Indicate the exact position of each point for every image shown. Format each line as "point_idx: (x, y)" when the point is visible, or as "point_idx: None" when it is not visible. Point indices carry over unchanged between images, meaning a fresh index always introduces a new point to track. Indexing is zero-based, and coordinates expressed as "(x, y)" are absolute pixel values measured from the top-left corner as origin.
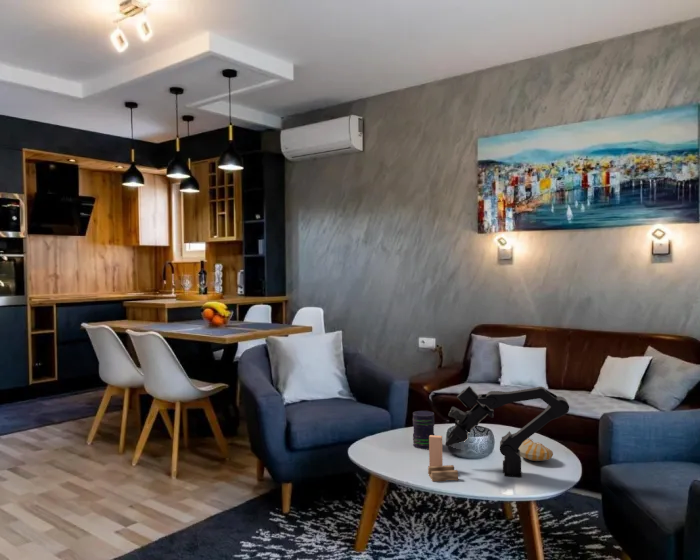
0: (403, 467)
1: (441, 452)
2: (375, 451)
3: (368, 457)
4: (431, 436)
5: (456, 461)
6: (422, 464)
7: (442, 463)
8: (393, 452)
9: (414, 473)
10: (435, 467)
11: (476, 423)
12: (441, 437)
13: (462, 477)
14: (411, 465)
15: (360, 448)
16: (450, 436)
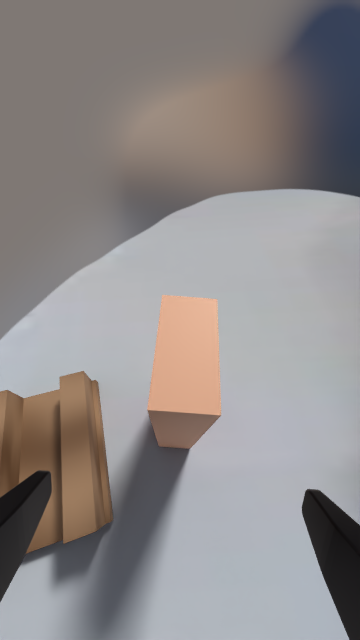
0: None
1: (155, 433)
2: (286, 223)
3: (231, 215)
4: (175, 312)
5: None
6: None
7: (188, 446)
8: (301, 260)
9: (105, 332)
10: (60, 409)
11: None
12: (154, 409)
13: (31, 602)
14: None
15: (293, 198)
16: (321, 534)
